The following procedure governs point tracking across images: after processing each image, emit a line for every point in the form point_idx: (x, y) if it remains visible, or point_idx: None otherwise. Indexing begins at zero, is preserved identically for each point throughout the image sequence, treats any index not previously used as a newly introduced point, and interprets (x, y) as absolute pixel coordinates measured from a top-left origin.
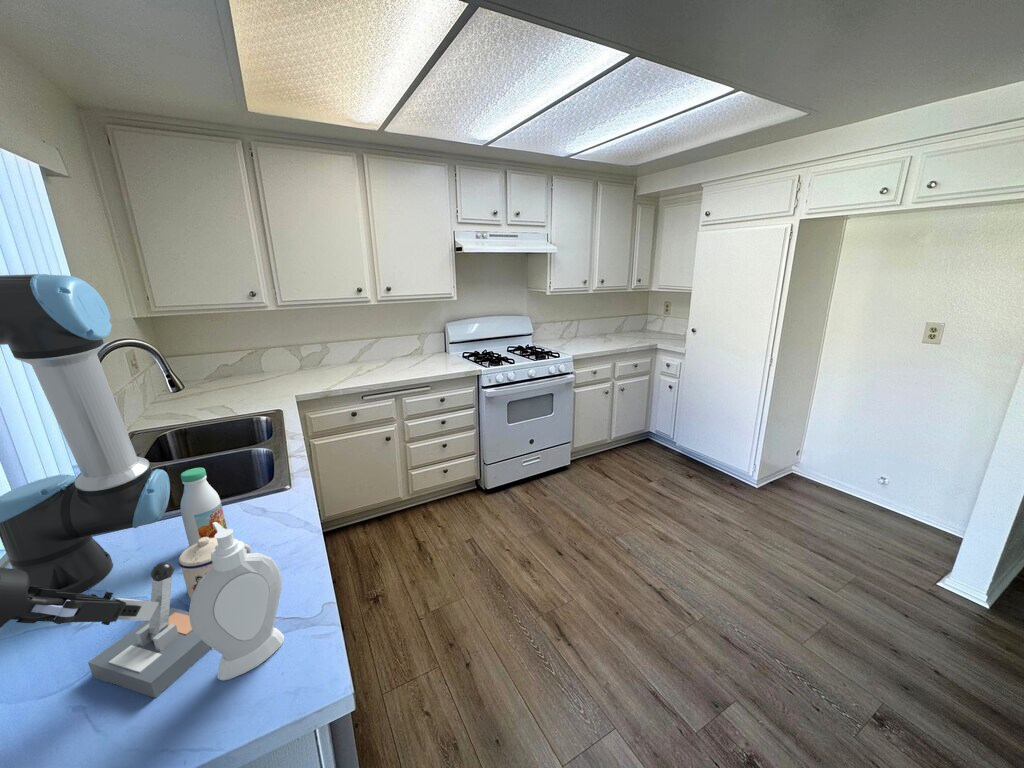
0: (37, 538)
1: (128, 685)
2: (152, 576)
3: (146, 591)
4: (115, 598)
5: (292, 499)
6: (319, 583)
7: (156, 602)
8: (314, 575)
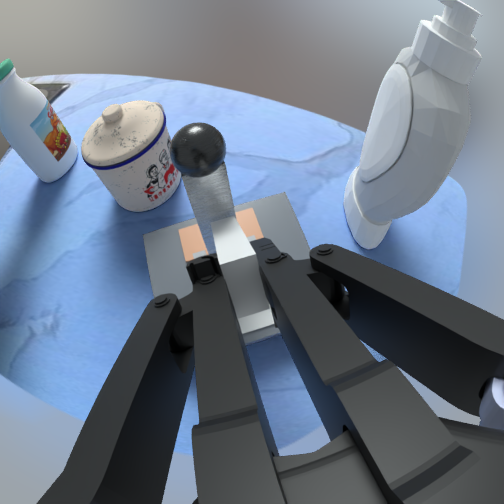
0: None
1: (269, 337)
2: (200, 167)
3: (58, 247)
4: (230, 261)
5: (89, 84)
6: (292, 109)
7: (234, 218)
8: (269, 105)
